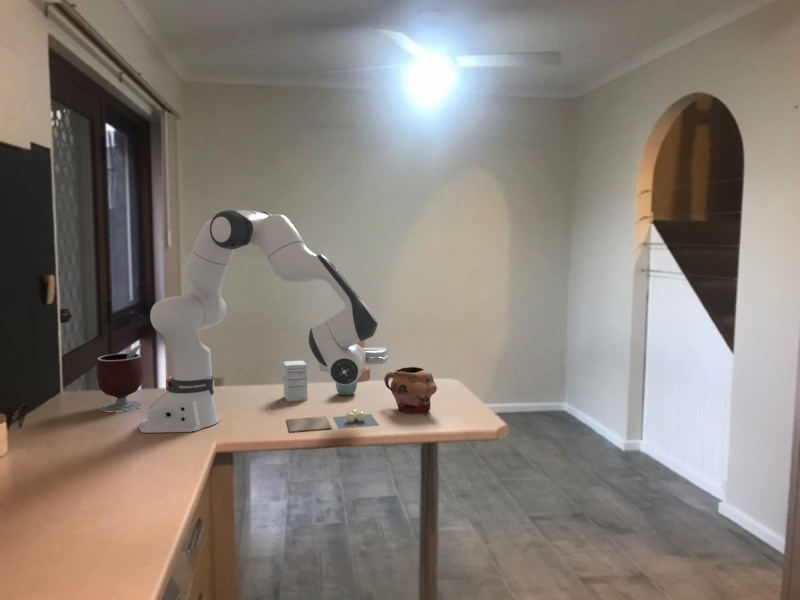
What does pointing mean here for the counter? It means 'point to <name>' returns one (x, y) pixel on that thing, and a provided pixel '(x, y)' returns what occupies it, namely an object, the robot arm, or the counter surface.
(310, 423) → the walnut coaster
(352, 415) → the marble
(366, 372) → the tan stepped cylinder
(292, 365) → the supplement box
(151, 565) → the counter surface
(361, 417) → the marble
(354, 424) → the slate mat
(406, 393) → the sculpted character mug
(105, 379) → the mate gourd
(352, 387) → the cup
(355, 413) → the marble
